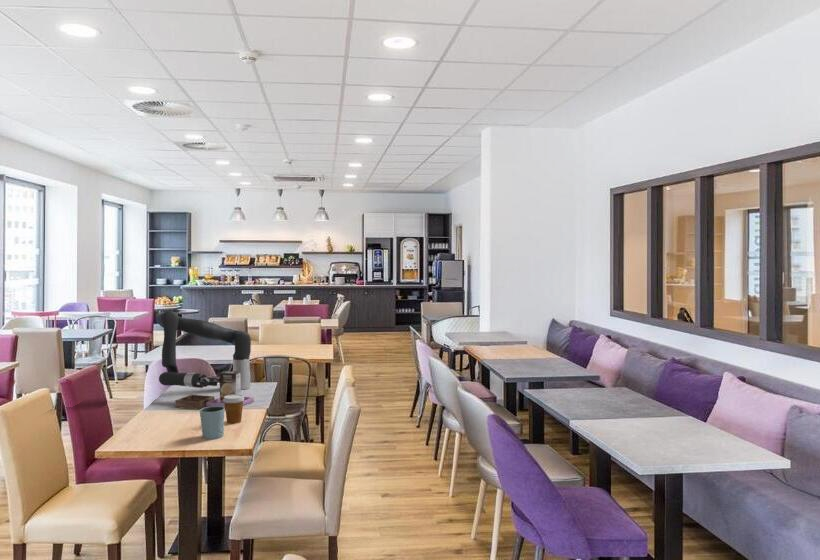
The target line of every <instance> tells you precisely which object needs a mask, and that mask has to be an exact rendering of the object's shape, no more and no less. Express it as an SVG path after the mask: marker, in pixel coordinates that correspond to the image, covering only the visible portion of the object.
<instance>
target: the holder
mask: <svg viewBox="0 0 820 560" xmlns="http://www.w3.org/2000/svg"><path fill="white" fill-rule="evenodd" d="M214 399H215V396H214V395H203V394H201V395H200V394H190V395H187V396H184V397H181V398H177V399H175V400H174V403H175V404H174V405H175V406H174V407H175V408H180V407H183V408H182V409H191V408H197V409H196V410H200V409H199V408H201V409H202V407H203V408H205V406H206V403H207V402H209V401H212V400H214Z"/></svg>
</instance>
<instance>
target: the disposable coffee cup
mask: <svg viewBox="0 0 820 560" xmlns="http://www.w3.org/2000/svg"><path fill="white" fill-rule="evenodd" d="M243 396H244V395H243V394H241V395H240V394H232V395H227V396H224V399H223V401H224V404H225V412H224V413H225V417H226V423H227V424H230V425H233V424H235V423H236V424H239V423H241V422H242V418H243V417H242V415H243V401H244V397H245V396H244V397H243Z"/></svg>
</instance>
